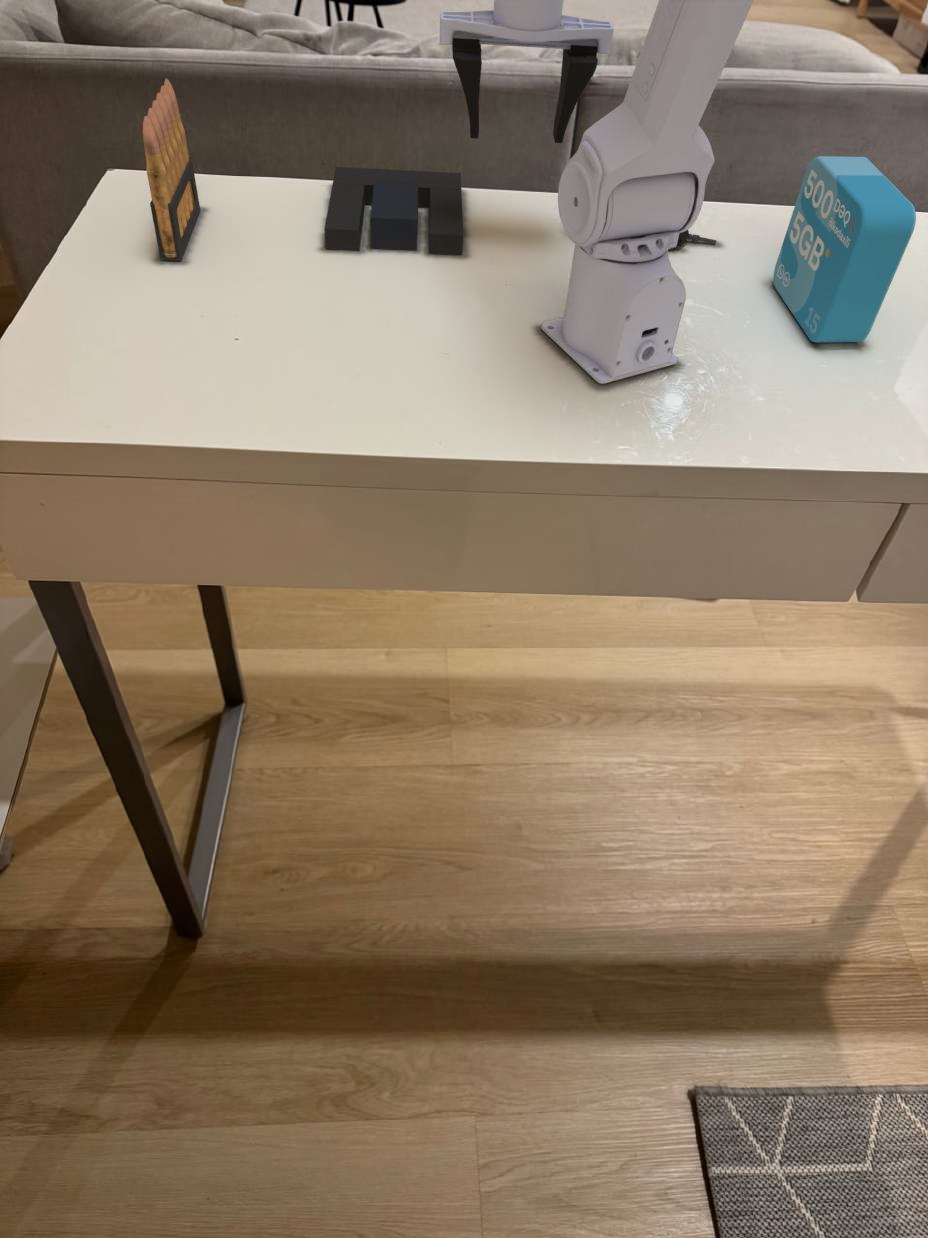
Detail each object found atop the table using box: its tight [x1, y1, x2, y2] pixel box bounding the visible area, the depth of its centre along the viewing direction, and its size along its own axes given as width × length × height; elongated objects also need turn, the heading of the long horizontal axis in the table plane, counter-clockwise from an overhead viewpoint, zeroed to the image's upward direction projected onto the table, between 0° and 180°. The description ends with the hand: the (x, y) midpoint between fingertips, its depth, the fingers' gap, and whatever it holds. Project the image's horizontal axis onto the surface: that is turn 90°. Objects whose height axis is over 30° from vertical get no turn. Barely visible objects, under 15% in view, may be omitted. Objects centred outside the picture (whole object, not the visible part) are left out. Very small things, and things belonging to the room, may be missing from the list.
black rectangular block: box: [369, 181, 419, 251], centre depth 88 cm, size 8×4×3 cm, turn 1°
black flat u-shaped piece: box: [324, 166, 464, 256], centre depth 90 cm, size 14×13×2 cm
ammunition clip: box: [142, 78, 201, 262], centre depth 82 cm, size 11×2×12 cm, turn 1°
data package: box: [773, 155, 917, 343], centre depth 78 cm, size 12×4×12 cm, turn 6°
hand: (516, 136), depth 83 cm, fingers open, 7 cm apart
